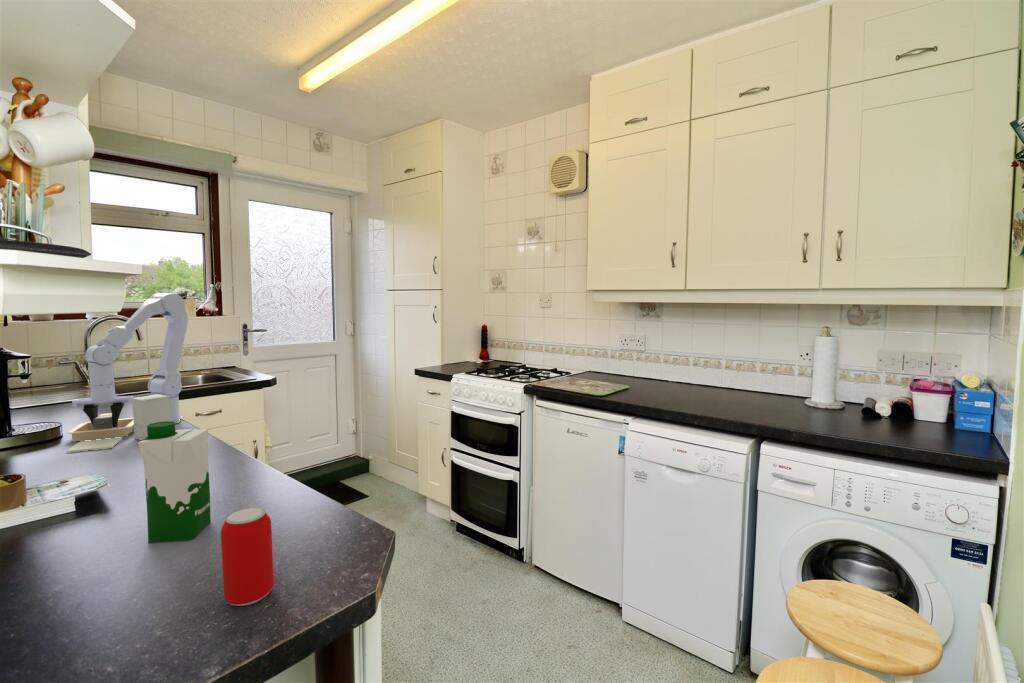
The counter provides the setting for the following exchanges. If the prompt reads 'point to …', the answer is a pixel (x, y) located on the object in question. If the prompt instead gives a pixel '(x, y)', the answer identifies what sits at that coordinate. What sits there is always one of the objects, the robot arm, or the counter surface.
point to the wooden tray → (101, 431)
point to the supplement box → (149, 412)
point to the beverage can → (247, 556)
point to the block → (103, 422)
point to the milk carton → (176, 482)
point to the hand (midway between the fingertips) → (105, 427)
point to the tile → (94, 445)
